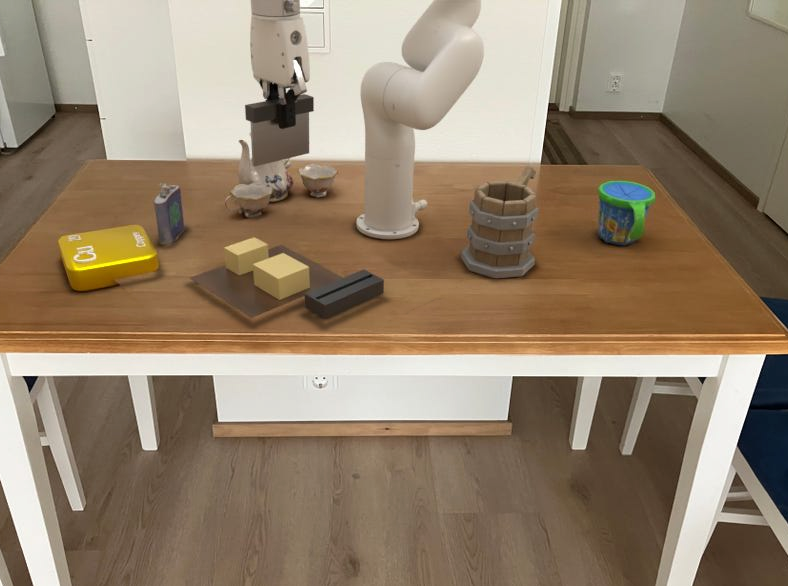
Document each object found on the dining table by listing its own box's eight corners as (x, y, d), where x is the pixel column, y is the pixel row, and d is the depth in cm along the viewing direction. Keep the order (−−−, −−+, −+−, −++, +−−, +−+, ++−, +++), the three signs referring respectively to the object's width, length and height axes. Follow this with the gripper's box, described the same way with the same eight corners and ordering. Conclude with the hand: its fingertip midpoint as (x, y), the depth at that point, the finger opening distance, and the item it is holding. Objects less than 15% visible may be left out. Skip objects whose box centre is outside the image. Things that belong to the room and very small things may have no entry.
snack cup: (655, 256, 149) (667, 206, 143) (601, 255, 148) (611, 205, 143) (631, 222, 162) (641, 175, 156) (581, 222, 161) (589, 175, 156)
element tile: (162, 277, 137) (158, 253, 134) (73, 294, 131) (67, 268, 128) (144, 243, 148) (140, 220, 145) (61, 257, 142) (55, 233, 139)
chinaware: (252, 236, 155) (252, 157, 145) (199, 205, 163) (195, 128, 153) (347, 197, 173) (353, 125, 163) (295, 171, 181) (298, 101, 171)
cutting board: (281, 251, 146) (281, 244, 145) (345, 286, 136) (345, 278, 135) (190, 285, 134) (189, 277, 134) (252, 325, 124) (251, 317, 123)
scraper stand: (363, 289, 135) (363, 269, 133) (383, 300, 132) (384, 279, 130) (305, 314, 127) (304, 293, 125) (325, 326, 124) (324, 305, 122)
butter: (284, 273, 136) (283, 252, 134) (309, 287, 132) (309, 266, 130) (254, 285, 132) (252, 264, 130) (279, 300, 128) (278, 278, 126)
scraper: (305, 151, 138) (304, 93, 132) (313, 154, 136) (313, 96, 131) (247, 164, 130) (244, 104, 125) (256, 168, 129) (253, 108, 123)
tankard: (513, 285, 138) (524, 205, 129) (451, 265, 143) (457, 188, 135) (556, 245, 152) (569, 171, 143) (498, 229, 157) (507, 157, 149)
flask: (170, 247, 146) (162, 193, 140) (155, 246, 147) (146, 192, 141) (187, 228, 154) (180, 176, 148) (173, 226, 154) (166, 175, 148)
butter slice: (255, 257, 141) (254, 236, 139) (269, 264, 138) (267, 244, 136) (225, 267, 137) (223, 247, 135) (239, 275, 135) (237, 255, 132)
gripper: (328, 11, 117) (329, 132, 128) (263, -4, 127) (270, 109, 137) (288, 16, 113) (294, 141, 123) (225, 1, 122) (234, 118, 133)
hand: (281, 123), depth 130 cm, fingers closed on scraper, 2 cm apart
